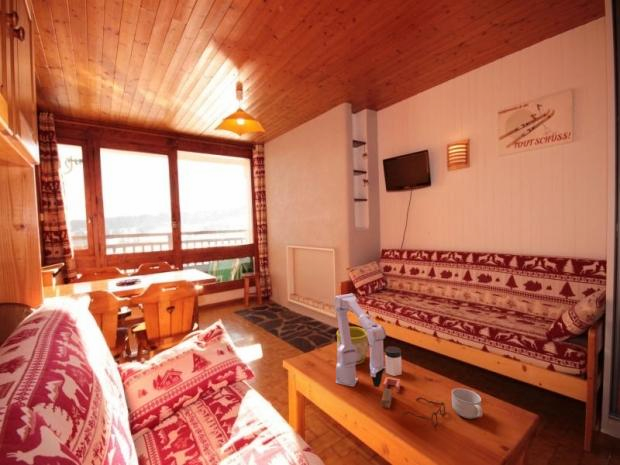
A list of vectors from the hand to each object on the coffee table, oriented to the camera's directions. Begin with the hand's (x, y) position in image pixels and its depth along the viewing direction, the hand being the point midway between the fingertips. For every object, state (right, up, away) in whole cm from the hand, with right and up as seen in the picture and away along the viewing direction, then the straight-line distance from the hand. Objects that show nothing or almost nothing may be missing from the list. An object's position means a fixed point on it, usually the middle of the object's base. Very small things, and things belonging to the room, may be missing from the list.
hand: (377, 385), depth 127 cm
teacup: (+35, -9, -8) cm, 37 cm away
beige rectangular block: (+5, -9, +4) cm, 11 cm away
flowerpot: (-4, -8, +44) cm, 45 cm away
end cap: (+10, -9, +14) cm, 20 cm away
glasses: (+18, -10, -5) cm, 21 cm away
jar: (+15, -8, +29) cm, 33 cm away
